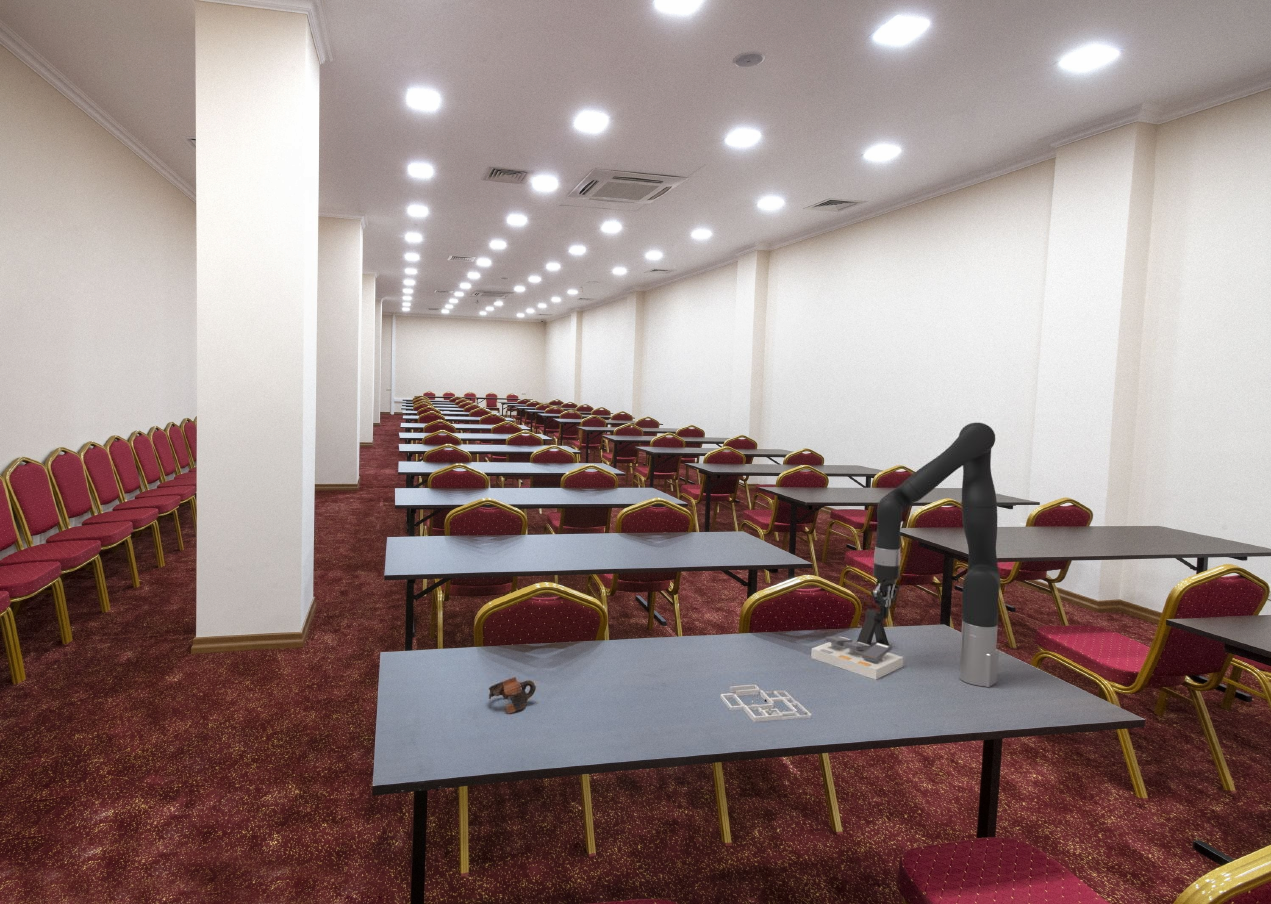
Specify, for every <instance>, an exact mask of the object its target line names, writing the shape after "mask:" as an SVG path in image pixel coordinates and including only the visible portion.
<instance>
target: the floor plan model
mask: <svg viewBox="0 0 1271 904" xmlns="http://www.w3.org/2000/svg"><path fill="white" fill-rule="evenodd" d="M729 692H730V693H721V694H720V696H719V697H720V699H721V700H722V701H723V703H724V704H725V705H726V706H727V708H728V709H729V710H730V711H738V710H739V711H742V710H743V711H744V712H745V713H746V714H747V715H748V717H749V718H750V719H751V720H752V721H753V722H754V723H759V722H769V721H787V720H797V719H798V720H799V719H811V718H812V717H813V716H812V713H810V712H809V711H808V710H807V708H805V707H804V706H803V705H802V704H800V702H799V701H796V700H795V698H793V697H792V696H791V695H790V694H789V693H788V692H787V691H786V690H785V689H784V690H773V691H771V690H770V691H769V690H768V691H763V690H762V689H760V688H759V687H758V685H756V684H747V685H735V686H734V685H733V686H730V688H729ZM781 693H782V694H783V693H784V694H785V695H786V696H781V695H780V694H781ZM770 694H771V695H772V694H773V696H774V697H773V696H771V697H769V696H768V695H770ZM753 695H754V696H755V695H757V696H755V697H754V696H753ZM758 695H760V698H762V699H763V700H764V702H765V703H766V704H757V703H753V702H754V700H752V701H751V703H752V704H751V705H746V704H744V702H743V701H742V700H741V699H740V698H739V697H743V696H744V697H745V696H752V697H753V698H752V699H758V700H760V698H759V696H758ZM730 698H731V699H732V698H733V699H734V700H735V701H736V702H737V704H738V705H733V706H732V704H731V703H730V702H729V701H728V700H727V699H730ZM789 701H792V702H789ZM775 702H783V703H784V704H785V705H786V706H787V707H788V708H789V709H790V710H792V711H788V710H787V709H782V711H781V712H780V711H779V709H778V708H775ZM794 706H795V707H796V706H797V707H798V708H799V709H800V710H801V711H802V713H803V715H800V713H798V710H797V709H796V708H795V707H794ZM753 711H758V712H759V713H760V714H761V716H760V715H759V716H758V715H757V716H756V715H755V714H754V712H753Z"/></svg>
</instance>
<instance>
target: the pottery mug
mask: <svg viewBox="0 0 1271 904" xmlns="http://www.w3.org/2000/svg"><path fill="white" fill-rule="evenodd" d="M528 686H529V691H528V692H526V689H527V687H528ZM536 688H537V686H536V685H535V683H534V681H532V680H524V681H522V682H520V681H518V680H517V678H516V676H512V677H510V678H507V679H505V680H503V681H499V682H498V683H494V684H493V685H491V686H489V688H488V690H489V694H488V699H489V700H491V698H493V697H500V696H502V697H503V698H504V699H505V700H507V699H508V698H510V699H511V702H510V703H508V704H506V705H505V706H504V709H505V711H506V714H507V715H510V714H513V713H515V712H518V711H521V710H524V709H526V703H527V702H528V700H529V699H530V698H532V696H533V695H535V692H536Z"/></svg>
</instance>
